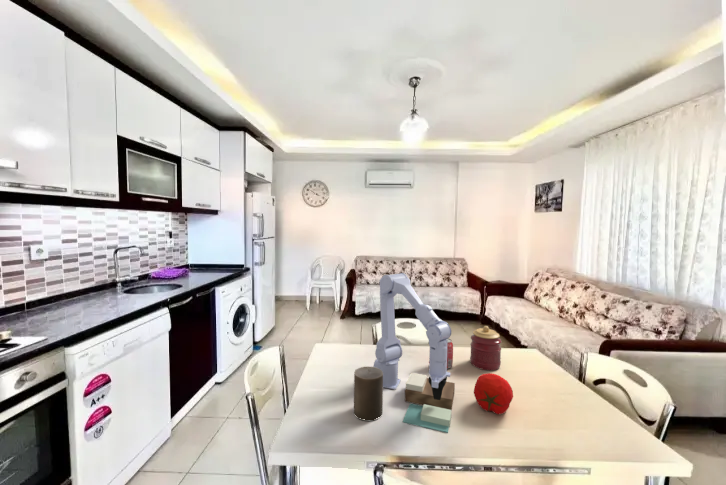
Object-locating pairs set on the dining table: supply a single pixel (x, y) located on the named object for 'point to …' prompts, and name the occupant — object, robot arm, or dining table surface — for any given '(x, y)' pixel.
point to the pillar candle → (368, 393)
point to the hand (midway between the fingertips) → (437, 398)
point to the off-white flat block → (416, 382)
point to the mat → (415, 419)
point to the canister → (485, 349)
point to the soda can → (449, 353)
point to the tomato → (493, 393)
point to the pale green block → (436, 415)
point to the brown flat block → (428, 398)
